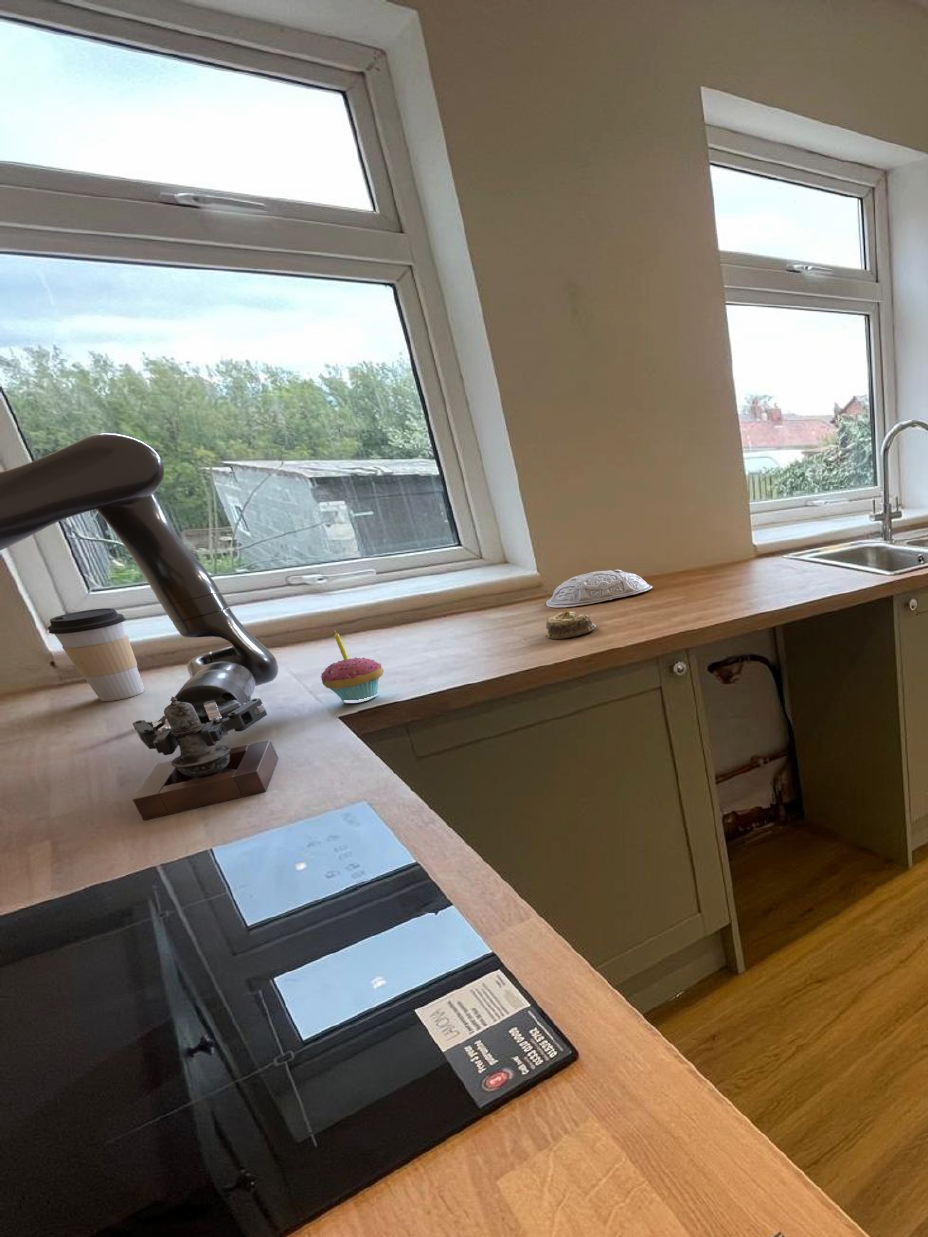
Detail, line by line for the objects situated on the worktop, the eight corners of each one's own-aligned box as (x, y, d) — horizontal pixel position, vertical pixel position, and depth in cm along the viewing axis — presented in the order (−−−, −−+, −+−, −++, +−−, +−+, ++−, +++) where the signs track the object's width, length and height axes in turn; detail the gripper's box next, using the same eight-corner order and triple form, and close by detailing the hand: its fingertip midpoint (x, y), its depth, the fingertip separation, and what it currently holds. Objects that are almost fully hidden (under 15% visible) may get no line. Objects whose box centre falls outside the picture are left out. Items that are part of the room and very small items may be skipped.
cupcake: (326, 700, 131) (299, 633, 126) (384, 686, 136) (361, 621, 131) (337, 713, 125) (310, 643, 120) (397, 697, 131) (373, 629, 126)
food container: (540, 596, 189) (535, 569, 186) (644, 583, 203) (641, 558, 200) (552, 615, 178) (547, 588, 175) (661, 601, 191) (659, 575, 188)
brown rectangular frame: (143, 820, 95) (131, 799, 94) (167, 783, 104) (157, 763, 103) (266, 791, 101) (256, 771, 99) (278, 758, 110) (270, 739, 109)
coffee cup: (71, 704, 134) (27, 622, 128) (131, 684, 143) (92, 606, 137) (114, 706, 133) (71, 622, 127) (173, 685, 141) (135, 607, 135)
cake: (565, 644, 156) (557, 619, 154) (537, 638, 161) (528, 614, 159) (607, 627, 163) (599, 603, 161) (578, 622, 168) (570, 599, 166)
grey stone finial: (239, 764, 106) (201, 684, 101) (243, 778, 102) (204, 695, 97) (182, 780, 102) (140, 697, 97) (184, 795, 98) (140, 710, 93)
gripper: (135, 688, 106) (95, 731, 92) (265, 665, 112) (245, 702, 99) (159, 737, 109) (124, 785, 95) (285, 712, 116) (268, 754, 102)
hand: (186, 743), depth 97 cm, fingers closed on grey stone finial, 3 cm apart
